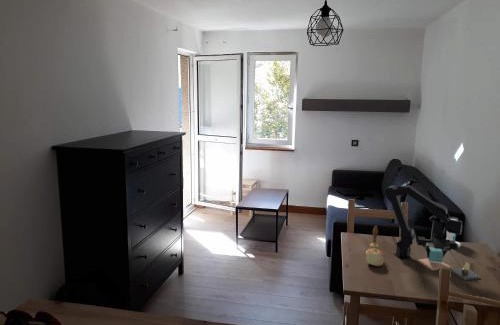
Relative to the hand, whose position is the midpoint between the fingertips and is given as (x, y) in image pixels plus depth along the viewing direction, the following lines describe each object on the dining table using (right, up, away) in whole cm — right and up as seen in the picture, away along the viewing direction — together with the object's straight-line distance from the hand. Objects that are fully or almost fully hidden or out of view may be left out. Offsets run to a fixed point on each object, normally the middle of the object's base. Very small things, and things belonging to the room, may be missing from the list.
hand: (434, 258), depth 198 cm
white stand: (+23, +1, +29) cm, 37 cm away
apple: (-32, -3, -2) cm, 32 cm away
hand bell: (-28, -1, +11) cm, 30 cm away
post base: (+10, -6, -10) cm, 15 cm away
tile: (0, -3, +1) cm, 3 cm away
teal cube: (0, 0, 0) cm, 0 cm away
